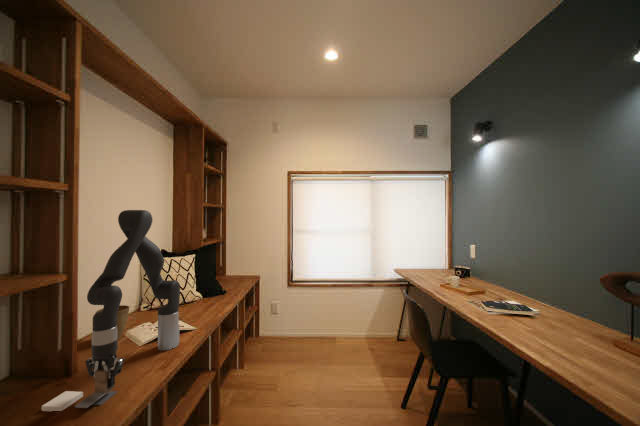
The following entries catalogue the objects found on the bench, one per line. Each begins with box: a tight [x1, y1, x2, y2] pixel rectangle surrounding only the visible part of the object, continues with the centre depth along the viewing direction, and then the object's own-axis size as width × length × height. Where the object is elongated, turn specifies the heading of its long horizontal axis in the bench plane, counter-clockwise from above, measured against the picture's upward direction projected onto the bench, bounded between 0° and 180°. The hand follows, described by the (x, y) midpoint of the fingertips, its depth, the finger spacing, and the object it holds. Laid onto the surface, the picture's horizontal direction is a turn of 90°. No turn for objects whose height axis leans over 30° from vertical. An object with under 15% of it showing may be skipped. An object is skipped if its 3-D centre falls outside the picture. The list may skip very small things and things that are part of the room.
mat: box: [91, 390, 118, 406], centre depth 98 cm, size 7×6×1 cm
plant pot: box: [94, 304, 130, 340], centre depth 148 cm, size 15×15×16 cm
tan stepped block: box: [74, 367, 115, 409], centre depth 96 cm, size 11×4×8 cm, turn 175°
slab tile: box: [41, 390, 84, 412], centre depth 96 cm, size 2×7×8 cm
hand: (104, 386), depth 99 cm, fingers closed on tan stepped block, 4 cm apart
